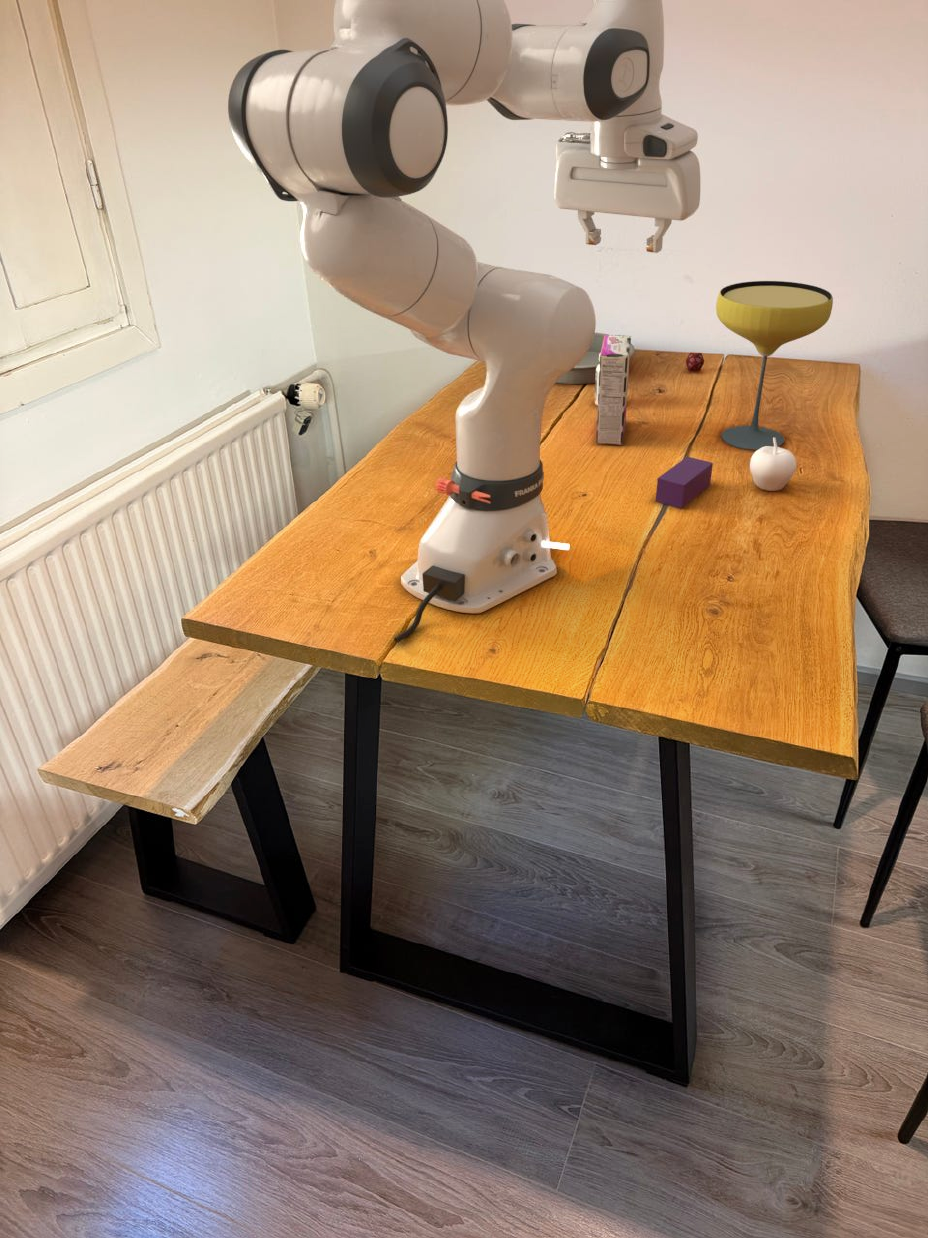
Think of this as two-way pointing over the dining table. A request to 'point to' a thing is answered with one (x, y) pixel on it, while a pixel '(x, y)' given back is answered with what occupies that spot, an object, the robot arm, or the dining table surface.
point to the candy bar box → (613, 389)
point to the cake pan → (587, 364)
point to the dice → (694, 361)
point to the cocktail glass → (769, 333)
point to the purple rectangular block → (683, 482)
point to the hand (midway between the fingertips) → (623, 247)
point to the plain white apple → (772, 467)
